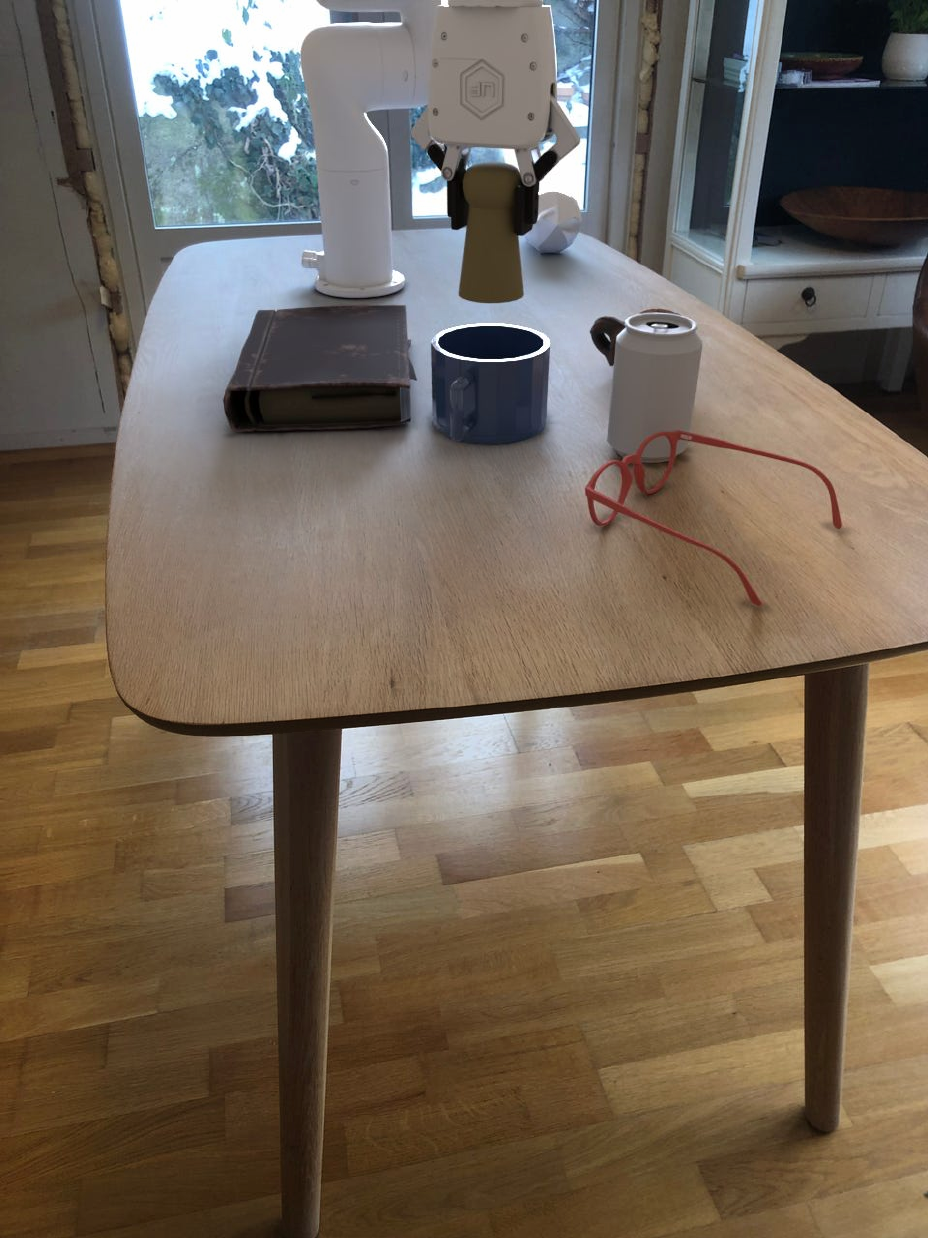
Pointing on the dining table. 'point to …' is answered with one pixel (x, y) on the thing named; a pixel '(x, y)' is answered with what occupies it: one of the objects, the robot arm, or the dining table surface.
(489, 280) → the cork
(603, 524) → the red eyeglasses
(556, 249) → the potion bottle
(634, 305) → the dining table surface
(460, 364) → the blue coffee cup
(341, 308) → the diary
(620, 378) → the can
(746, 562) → the dining table surface
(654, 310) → the pottery mug
